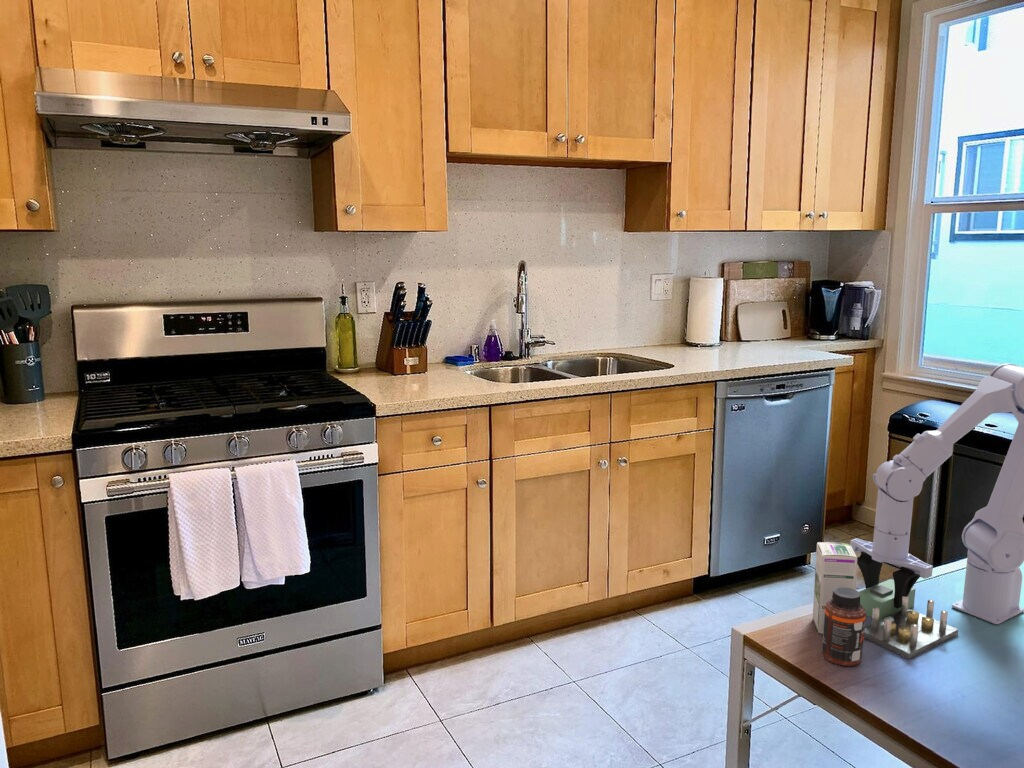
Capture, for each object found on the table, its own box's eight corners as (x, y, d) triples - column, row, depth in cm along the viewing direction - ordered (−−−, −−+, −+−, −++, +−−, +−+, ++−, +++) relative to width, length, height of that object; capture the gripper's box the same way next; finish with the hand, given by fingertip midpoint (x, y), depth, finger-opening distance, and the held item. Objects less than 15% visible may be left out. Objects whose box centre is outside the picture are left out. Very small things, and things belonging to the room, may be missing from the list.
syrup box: (853, 637, 130) (860, 556, 127) (816, 634, 131) (822, 553, 128) (846, 621, 135) (852, 542, 132) (810, 618, 136) (815, 540, 134)
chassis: (906, 613, 138) (909, 589, 137) (957, 634, 130) (960, 610, 129) (858, 634, 131) (859, 610, 130) (908, 659, 123) (911, 633, 122)
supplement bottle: (867, 668, 120) (873, 601, 118) (828, 667, 121) (833, 600, 119) (854, 648, 126) (859, 584, 124) (817, 647, 127) (821, 583, 125)
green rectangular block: (889, 596, 144) (890, 575, 143) (913, 606, 140) (915, 585, 139) (855, 610, 139) (857, 589, 138) (880, 621, 135) (882, 599, 134)
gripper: (841, 520, 141) (836, 590, 143) (918, 547, 128) (910, 623, 131) (865, 513, 144) (859, 581, 147) (942, 539, 132) (934, 612, 135)
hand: (885, 600), depth 139 cm, fingers closed on green rectangular block, 5 cm apart
